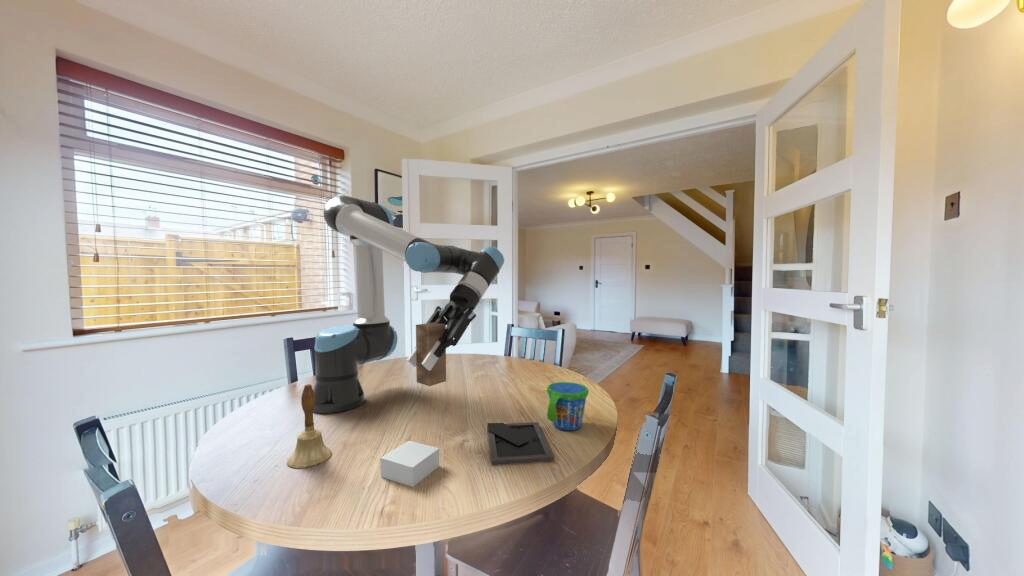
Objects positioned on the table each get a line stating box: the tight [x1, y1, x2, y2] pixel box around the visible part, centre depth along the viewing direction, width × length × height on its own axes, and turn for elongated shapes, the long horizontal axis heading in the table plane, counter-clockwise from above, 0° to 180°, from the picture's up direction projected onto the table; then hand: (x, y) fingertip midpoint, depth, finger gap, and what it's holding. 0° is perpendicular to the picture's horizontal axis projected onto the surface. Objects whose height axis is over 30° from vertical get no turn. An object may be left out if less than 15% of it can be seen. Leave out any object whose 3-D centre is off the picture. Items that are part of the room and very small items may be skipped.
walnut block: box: [415, 322, 447, 387], centre depth 84 cm, size 5×5×14 cm
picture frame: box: [486, 421, 555, 466], centre depth 81 cm, size 13×2×18 cm
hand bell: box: [286, 383, 333, 469], centre depth 74 cm, size 8×8×16 cm
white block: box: [380, 440, 440, 488], centre depth 69 cm, size 8×8×4 cm
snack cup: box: [546, 381, 590, 431], centre depth 91 cm, size 16×10×10 cm
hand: (418, 365), depth 81 cm, fingers closed on walnut block, 5 cm apart
